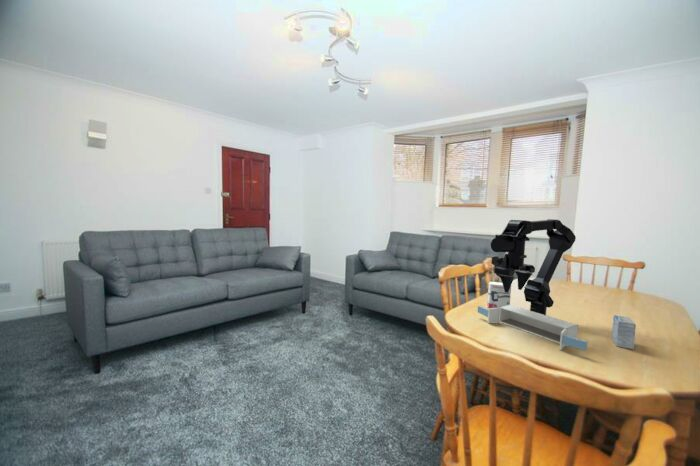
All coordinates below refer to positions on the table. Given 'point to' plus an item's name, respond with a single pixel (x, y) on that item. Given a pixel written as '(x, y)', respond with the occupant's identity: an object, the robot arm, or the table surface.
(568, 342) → the flap
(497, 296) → the ink box
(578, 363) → the table surface
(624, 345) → the medicine box
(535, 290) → the robot arm
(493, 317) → the flap
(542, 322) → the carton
